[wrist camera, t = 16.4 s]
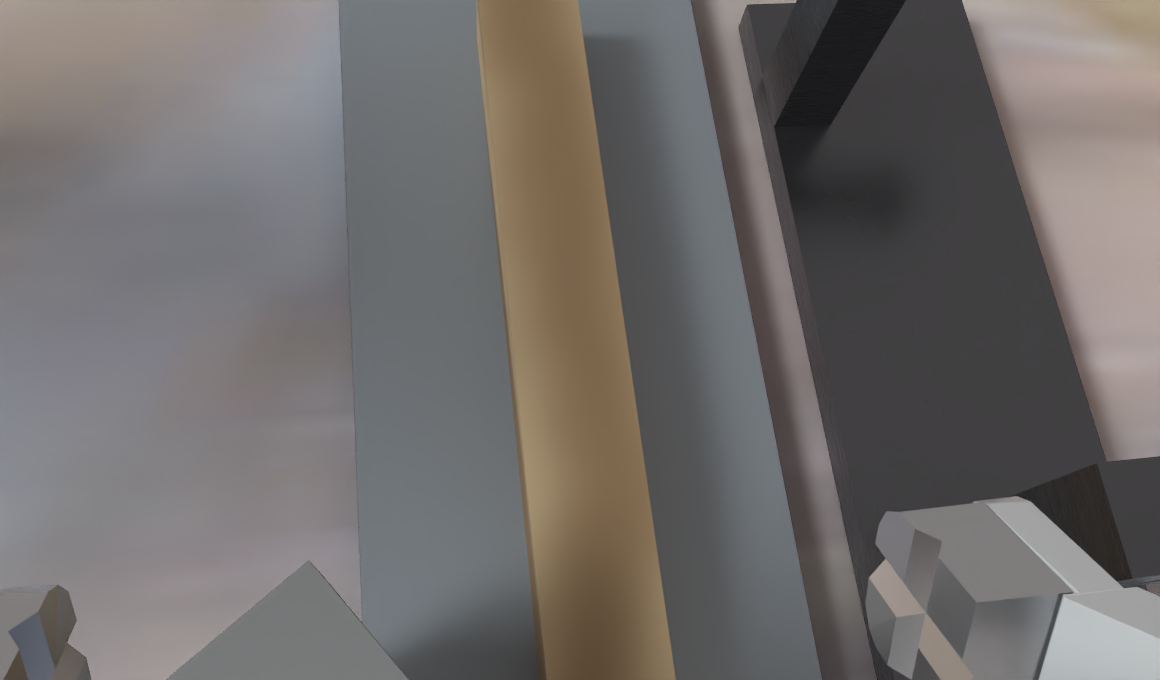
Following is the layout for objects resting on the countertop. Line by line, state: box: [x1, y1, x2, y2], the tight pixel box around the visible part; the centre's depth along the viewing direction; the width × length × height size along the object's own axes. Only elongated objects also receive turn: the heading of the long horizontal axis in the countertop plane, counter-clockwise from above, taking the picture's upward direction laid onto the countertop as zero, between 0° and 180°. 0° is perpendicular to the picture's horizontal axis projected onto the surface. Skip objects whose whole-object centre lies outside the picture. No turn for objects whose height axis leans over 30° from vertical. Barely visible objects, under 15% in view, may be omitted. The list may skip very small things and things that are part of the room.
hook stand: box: [739, 0, 1160, 680], centre depth 25 cm, size 8×24×12 cm, turn 7°
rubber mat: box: [339, 0, 822, 680], centre depth 29 cm, size 12×28×1 cm, turn 7°
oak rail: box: [476, 0, 676, 680], centre depth 27 cm, size 3×22×3 cm, turn 7°
